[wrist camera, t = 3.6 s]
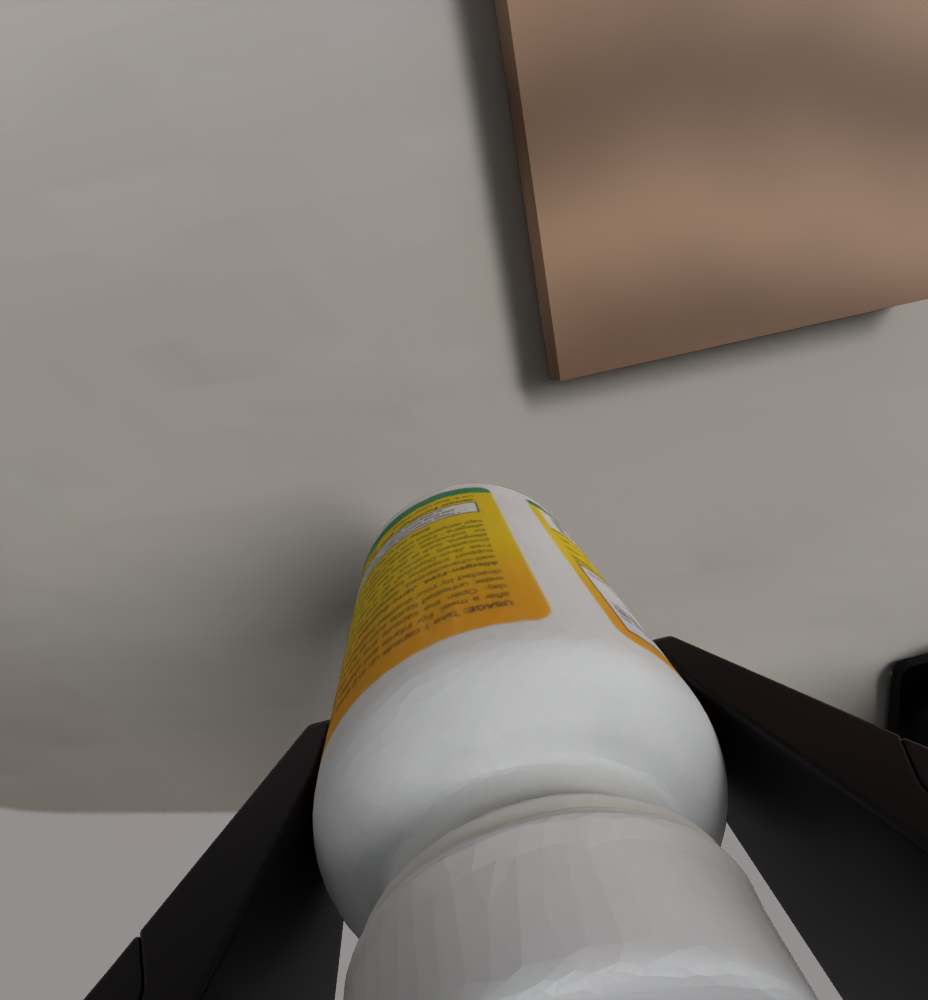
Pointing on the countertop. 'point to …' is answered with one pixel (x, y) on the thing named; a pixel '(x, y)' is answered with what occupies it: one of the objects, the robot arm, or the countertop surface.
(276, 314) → the countertop surface
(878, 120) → the walnut board
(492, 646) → the supplement bottle
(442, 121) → the countertop surface
